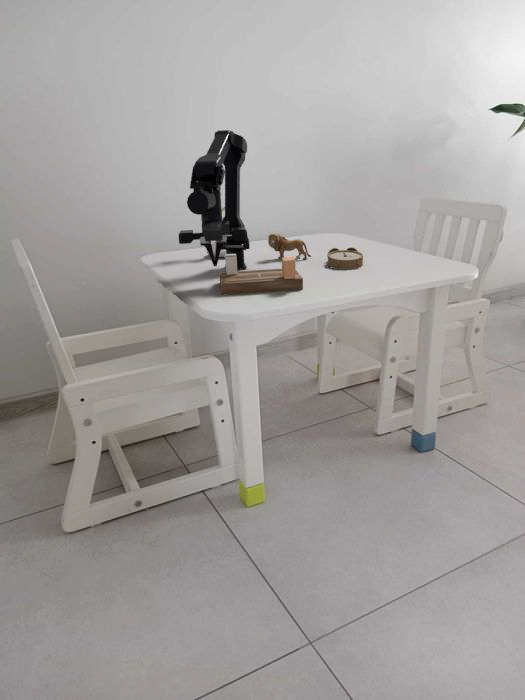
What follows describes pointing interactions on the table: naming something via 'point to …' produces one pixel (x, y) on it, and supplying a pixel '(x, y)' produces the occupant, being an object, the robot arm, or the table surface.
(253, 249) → the table surface
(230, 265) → the block
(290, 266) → the terracotta fader
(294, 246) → the lion figurine
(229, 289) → the board
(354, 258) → the alarm clock
